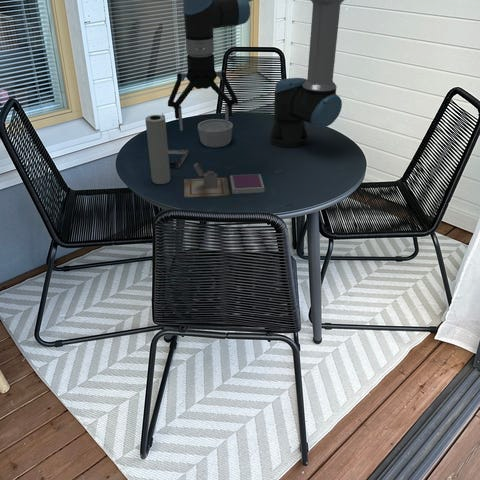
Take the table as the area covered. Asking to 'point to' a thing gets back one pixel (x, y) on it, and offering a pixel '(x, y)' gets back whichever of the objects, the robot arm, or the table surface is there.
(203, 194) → the marked board
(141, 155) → the table surface
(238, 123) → the table surface
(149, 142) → the paper towel roll
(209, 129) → the ramekin
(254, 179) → the ink pad
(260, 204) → the table surface
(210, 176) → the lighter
